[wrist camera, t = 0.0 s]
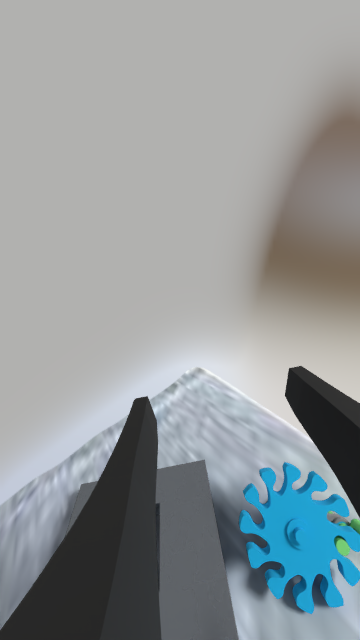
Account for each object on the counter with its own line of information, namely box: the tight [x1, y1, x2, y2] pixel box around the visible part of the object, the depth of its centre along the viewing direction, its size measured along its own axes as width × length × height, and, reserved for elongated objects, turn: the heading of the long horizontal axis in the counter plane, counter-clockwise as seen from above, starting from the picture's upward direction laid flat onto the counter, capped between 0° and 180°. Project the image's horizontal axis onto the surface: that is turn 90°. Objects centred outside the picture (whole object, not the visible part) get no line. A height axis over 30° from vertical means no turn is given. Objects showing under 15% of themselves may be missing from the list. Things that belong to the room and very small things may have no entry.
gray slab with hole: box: [66, 460, 239, 640], centre depth 20 cm, size 13×16×2 cm
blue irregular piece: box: [239, 462, 360, 614], centre depth 20 cm, size 11×6×10 cm
